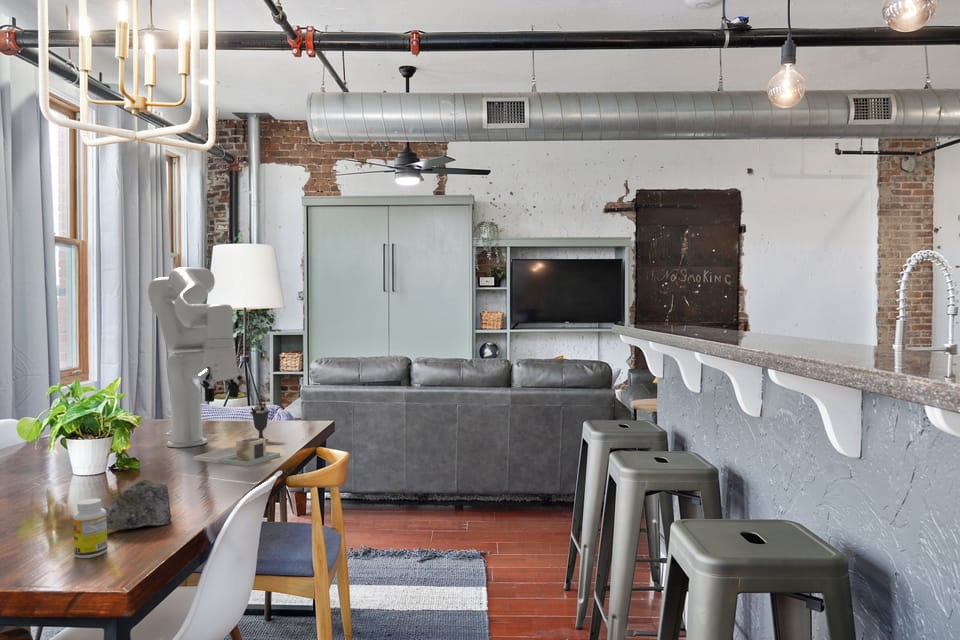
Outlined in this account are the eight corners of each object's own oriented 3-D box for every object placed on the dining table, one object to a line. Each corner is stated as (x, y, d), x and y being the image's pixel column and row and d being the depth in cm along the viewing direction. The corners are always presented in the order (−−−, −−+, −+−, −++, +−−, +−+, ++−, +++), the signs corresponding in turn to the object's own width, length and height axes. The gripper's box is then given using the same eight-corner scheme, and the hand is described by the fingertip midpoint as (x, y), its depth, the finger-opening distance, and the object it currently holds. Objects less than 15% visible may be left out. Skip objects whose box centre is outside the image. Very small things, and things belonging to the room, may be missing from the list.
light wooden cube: (236, 460, 204) (236, 440, 204) (251, 456, 210) (250, 437, 210) (252, 462, 202) (251, 442, 202) (266, 458, 207) (266, 438, 207)
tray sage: (221, 464, 202) (221, 459, 202) (255, 454, 214) (255, 450, 214) (247, 467, 197) (246, 462, 197) (280, 457, 210) (280, 452, 210)
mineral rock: (94, 535, 141) (93, 487, 140) (120, 519, 151) (119, 474, 151) (157, 534, 141) (156, 486, 141) (178, 517, 152) (177, 473, 152)
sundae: (274, 438, 240) (273, 396, 239) (266, 442, 233) (265, 399, 233) (256, 438, 241) (255, 396, 240) (247, 442, 234) (246, 399, 233)
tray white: (193, 461, 207) (193, 456, 207) (228, 451, 219) (228, 447, 219) (217, 464, 202) (217, 459, 202) (251, 454, 215) (251, 449, 215)
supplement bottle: (76, 551, 131) (74, 499, 131) (108, 547, 134) (107, 495, 133) (72, 561, 126) (70, 507, 126) (106, 556, 129) (104, 503, 128)
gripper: (232, 342, 219) (233, 395, 220) (189, 345, 204) (190, 402, 204) (250, 342, 216) (251, 396, 217) (207, 346, 200) (208, 403, 201)
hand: (221, 399), depth 210 cm, fingers open, 9 cm apart
